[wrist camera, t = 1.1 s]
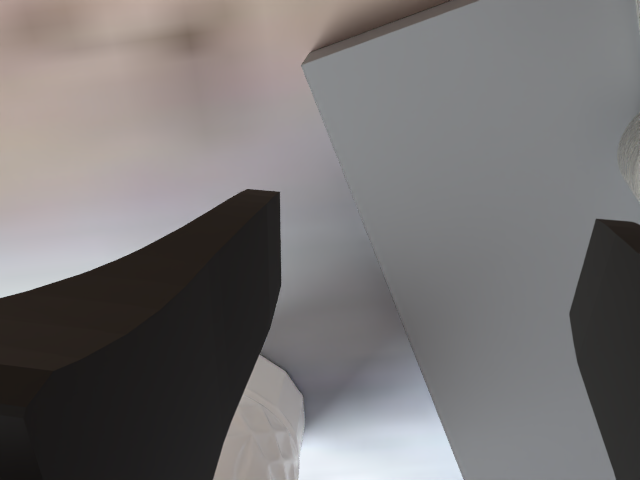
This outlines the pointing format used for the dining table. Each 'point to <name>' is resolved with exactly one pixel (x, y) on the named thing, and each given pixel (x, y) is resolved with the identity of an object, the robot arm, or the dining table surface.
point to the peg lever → (631, 147)
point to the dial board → (490, 206)
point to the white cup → (264, 429)
